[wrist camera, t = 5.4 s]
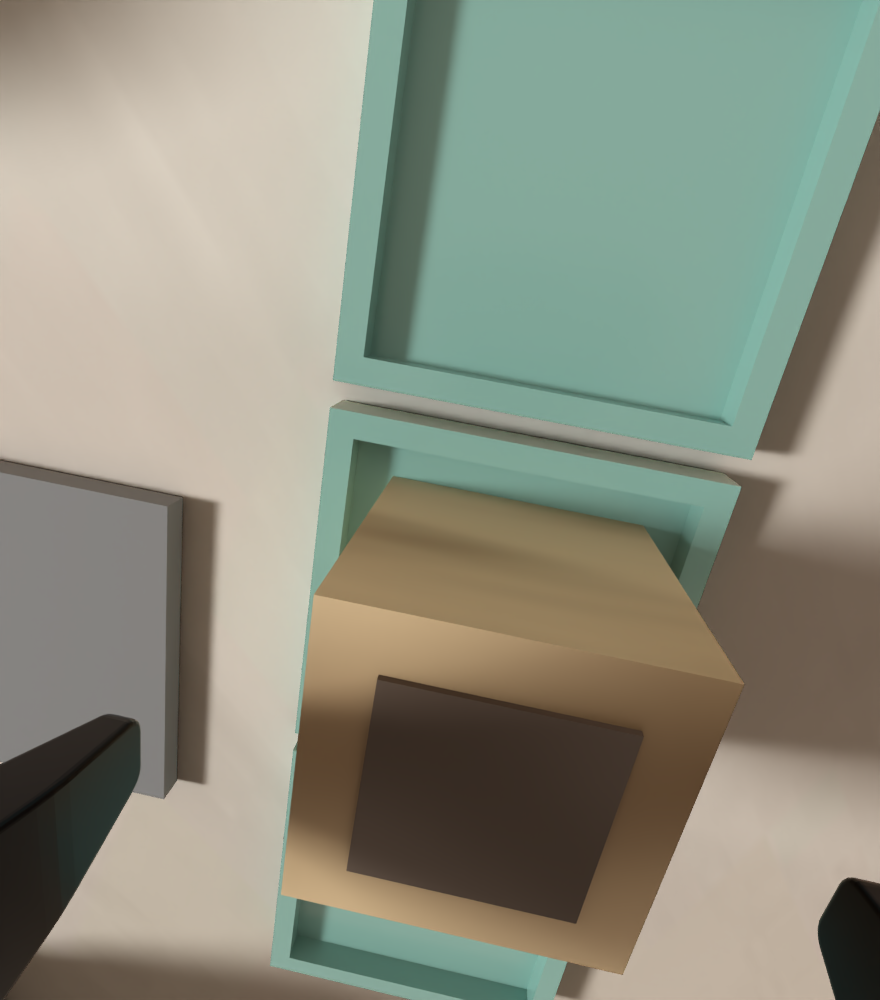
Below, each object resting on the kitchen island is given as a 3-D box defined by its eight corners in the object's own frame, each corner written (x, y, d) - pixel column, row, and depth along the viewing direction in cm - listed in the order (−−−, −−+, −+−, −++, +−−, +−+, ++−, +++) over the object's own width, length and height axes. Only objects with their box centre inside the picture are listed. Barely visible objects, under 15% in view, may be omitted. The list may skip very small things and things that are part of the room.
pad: (176, 780, 15) (163, 799, 14) (-108, 716, 15) (-132, 731, 15) (182, 497, 12) (167, 506, 12) (-162, 427, 13) (-193, 433, 12)
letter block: (579, 729, 13) (624, 982, 8) (361, 682, 13) (278, 901, 8) (643, 525, 11) (748, 690, 6) (392, 475, 11) (311, 598, 7)
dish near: (731, 448, 11) (751, 460, 10) (346, 374, 11) (332, 380, 10) (906, -47, 8) (951, -87, 7) (402, -121, 9) (391, -168, 8)
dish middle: (616, 774, 13) (624, 805, 13) (308, 706, 14) (295, 732, 13) (723, 473, 11) (741, 486, 10) (343, 400, 11) (330, 407, 10)
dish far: (540, 993, 16) (542, 1031, 15) (282, 931, 16) (270, 965, 16) (611, 790, 14) (618, 822, 13) (306, 723, 14) (293, 750, 13)
